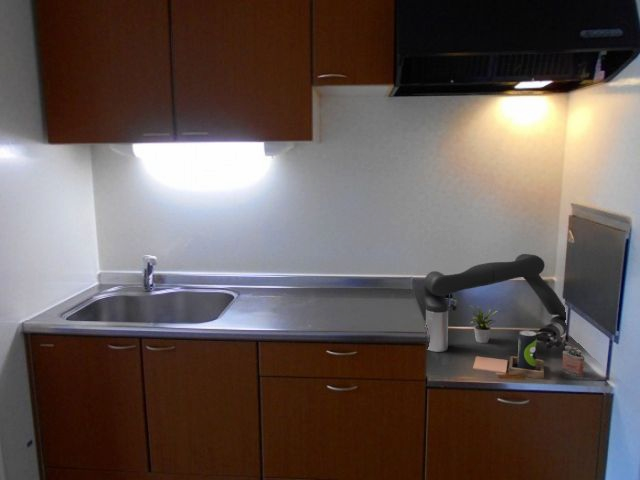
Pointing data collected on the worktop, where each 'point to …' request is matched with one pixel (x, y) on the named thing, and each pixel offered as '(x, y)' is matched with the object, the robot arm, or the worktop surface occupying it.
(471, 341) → the worktop surface
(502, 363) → the trivet
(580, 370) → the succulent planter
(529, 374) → the wooden tray
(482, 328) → the house plant
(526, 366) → the beverage can
